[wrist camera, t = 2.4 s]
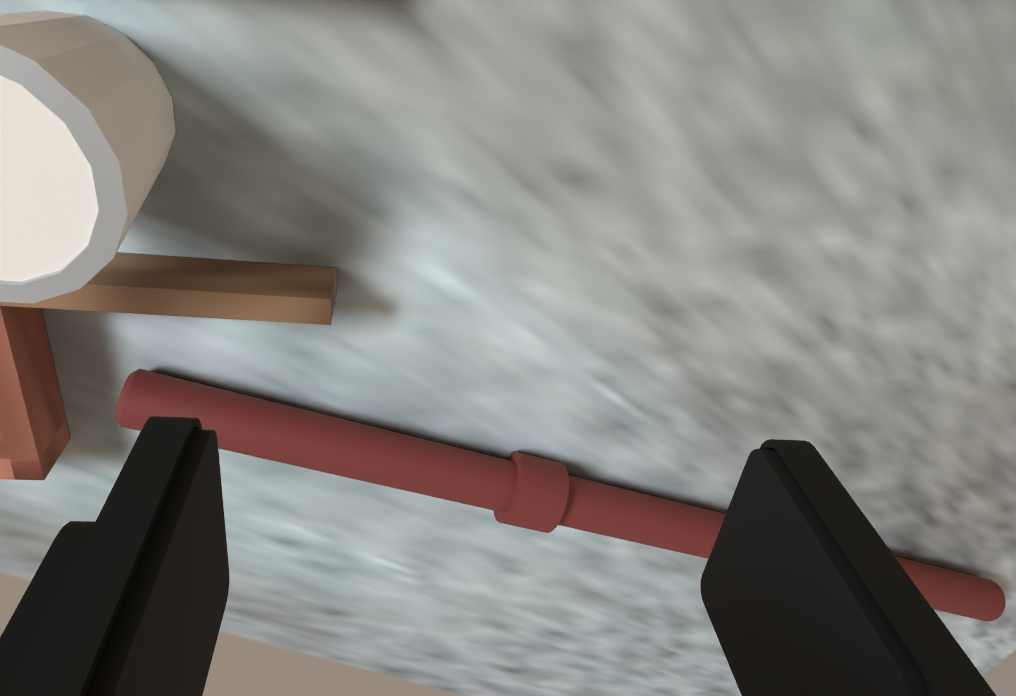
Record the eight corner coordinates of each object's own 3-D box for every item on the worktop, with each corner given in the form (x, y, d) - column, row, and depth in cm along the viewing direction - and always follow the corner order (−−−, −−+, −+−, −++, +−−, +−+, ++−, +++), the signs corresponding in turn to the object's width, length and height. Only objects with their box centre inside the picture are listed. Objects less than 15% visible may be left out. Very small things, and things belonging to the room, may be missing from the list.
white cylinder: (156, -23, 22) (60, 8, 16) (221, 198, 25) (163, 290, 19) (-85, -2, 21) (-276, 38, 15) (17, 219, 25) (-106, 321, 19)
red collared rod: (131, 403, 30) (104, 453, 27) (143, 340, 28) (115, 387, 26) (952, 595, 43) (988, 642, 40) (989, 559, 41) (1028, 605, 39)
